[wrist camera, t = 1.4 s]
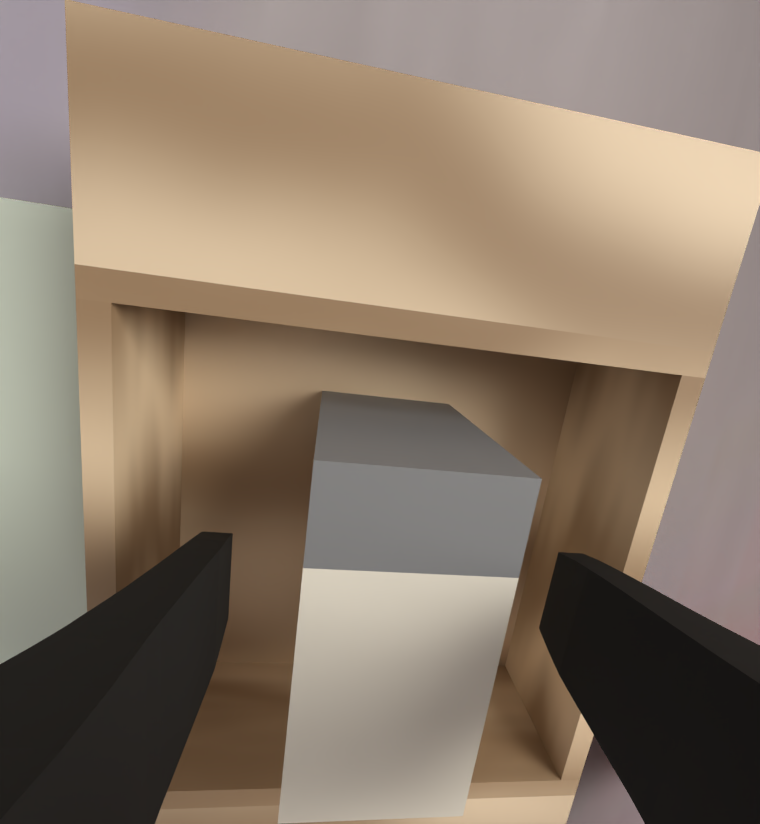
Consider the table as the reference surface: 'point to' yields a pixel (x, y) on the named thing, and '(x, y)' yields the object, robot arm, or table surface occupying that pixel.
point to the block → (400, 609)
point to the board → (39, 428)
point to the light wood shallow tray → (373, 344)
